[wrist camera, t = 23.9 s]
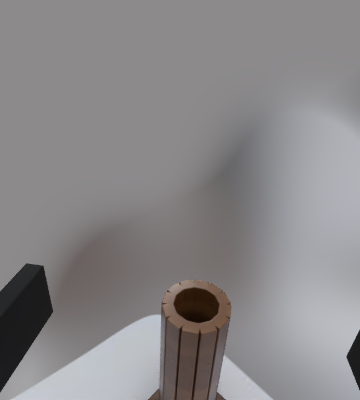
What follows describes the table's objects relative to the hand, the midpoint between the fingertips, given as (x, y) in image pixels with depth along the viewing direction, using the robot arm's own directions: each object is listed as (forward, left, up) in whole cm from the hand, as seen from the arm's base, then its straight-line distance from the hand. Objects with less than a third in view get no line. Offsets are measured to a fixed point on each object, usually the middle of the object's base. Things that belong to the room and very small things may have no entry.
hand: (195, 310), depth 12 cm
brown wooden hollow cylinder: (-5, +7, -23) cm, 24 cm away
